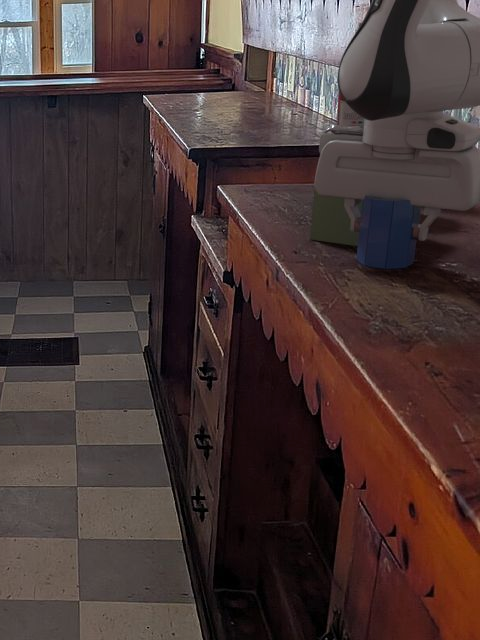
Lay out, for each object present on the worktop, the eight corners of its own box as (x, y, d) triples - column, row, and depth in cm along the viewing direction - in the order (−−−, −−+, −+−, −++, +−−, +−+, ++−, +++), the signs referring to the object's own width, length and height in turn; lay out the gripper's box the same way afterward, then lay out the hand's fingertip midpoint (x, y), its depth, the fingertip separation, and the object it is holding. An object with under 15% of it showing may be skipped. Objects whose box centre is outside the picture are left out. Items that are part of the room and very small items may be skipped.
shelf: (404, 233, 127) (411, 179, 124) (378, 249, 121) (384, 192, 118) (338, 224, 134) (343, 173, 131) (309, 239, 127) (314, 185, 124)
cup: (419, 259, 116) (428, 192, 112) (400, 271, 111) (409, 202, 108) (369, 252, 120) (377, 187, 117) (350, 263, 116) (357, 197, 112)
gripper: (311, 127, 114) (302, 229, 119) (479, 137, 100) (461, 252, 106) (331, 120, 118) (322, 220, 123) (496, 129, 105) (477, 240, 110)
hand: (387, 235), depth 114 cm, fingers closed on cup, 6 cm apart
